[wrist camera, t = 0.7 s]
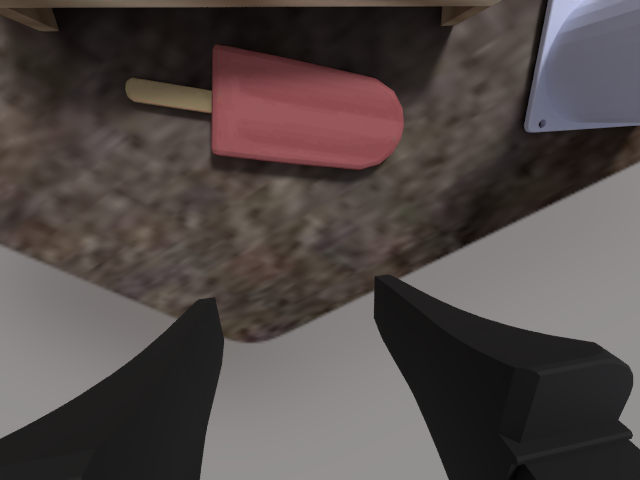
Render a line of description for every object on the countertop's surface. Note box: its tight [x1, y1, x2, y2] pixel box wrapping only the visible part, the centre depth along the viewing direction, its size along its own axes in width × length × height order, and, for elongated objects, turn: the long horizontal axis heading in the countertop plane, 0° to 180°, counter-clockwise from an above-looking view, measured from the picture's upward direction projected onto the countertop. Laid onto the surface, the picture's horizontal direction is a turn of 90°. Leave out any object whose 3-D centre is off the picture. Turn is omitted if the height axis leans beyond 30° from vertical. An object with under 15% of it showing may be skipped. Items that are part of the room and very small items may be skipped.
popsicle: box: [125, 44, 404, 170], centre depth 16 cm, size 5×2×15 cm
